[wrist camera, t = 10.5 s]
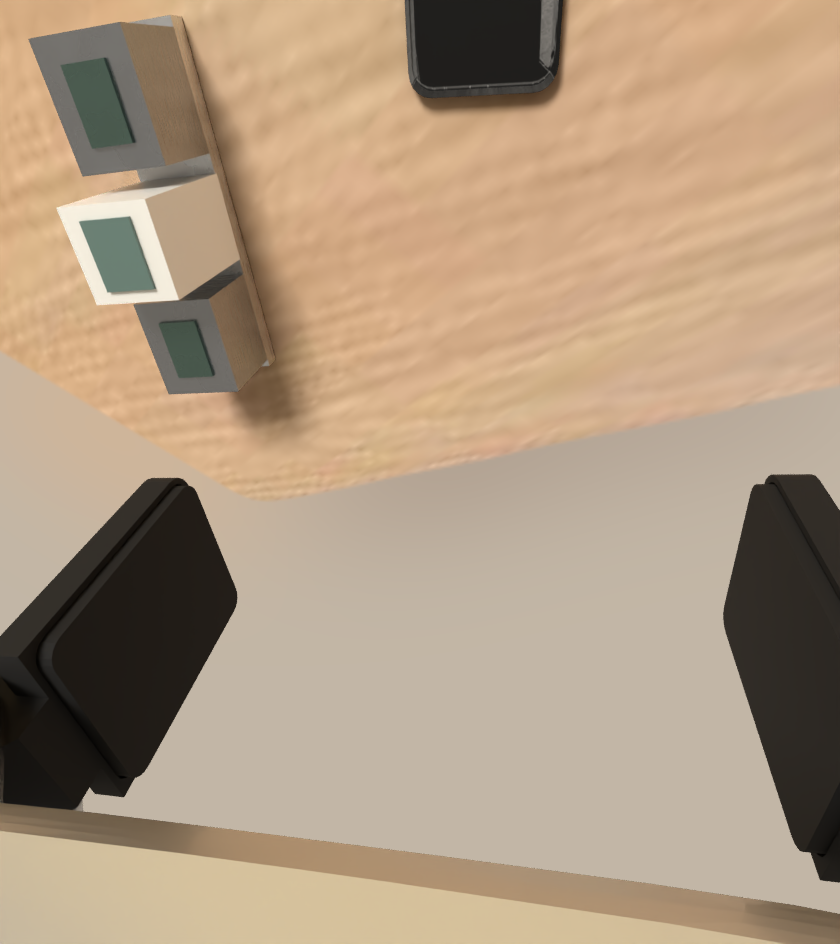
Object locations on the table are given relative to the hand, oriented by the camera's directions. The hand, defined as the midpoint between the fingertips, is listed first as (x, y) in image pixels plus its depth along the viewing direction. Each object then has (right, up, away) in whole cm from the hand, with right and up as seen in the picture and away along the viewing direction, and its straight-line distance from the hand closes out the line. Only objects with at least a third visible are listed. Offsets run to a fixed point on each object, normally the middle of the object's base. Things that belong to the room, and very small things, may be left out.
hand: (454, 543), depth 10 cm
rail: (-15, +18, +28) cm, 36 cm away
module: (-15, +17, +27) cm, 35 cm away
